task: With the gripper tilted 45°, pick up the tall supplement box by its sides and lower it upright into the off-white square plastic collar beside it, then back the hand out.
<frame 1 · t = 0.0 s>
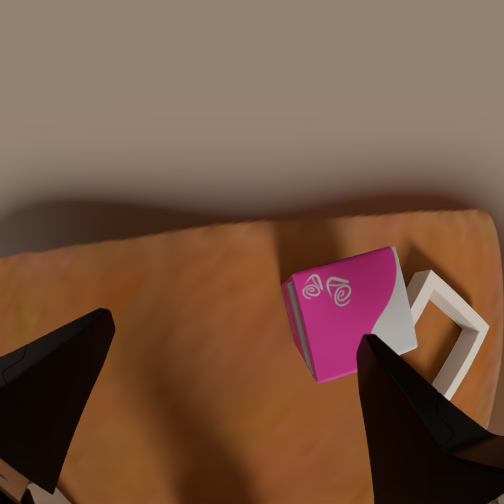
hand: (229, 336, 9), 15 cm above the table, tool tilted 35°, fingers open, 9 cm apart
supplement box: (318, 305, 24), on the table
collar: (423, 345, 22), on the table
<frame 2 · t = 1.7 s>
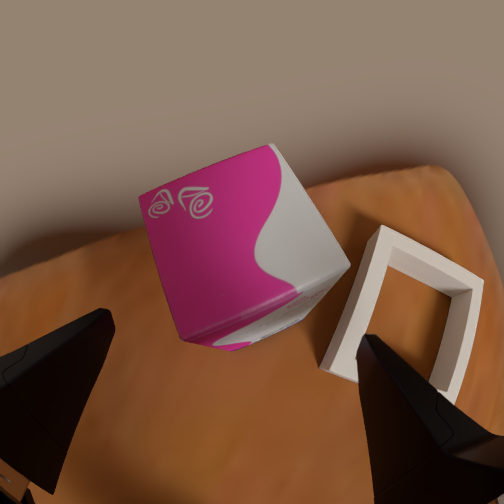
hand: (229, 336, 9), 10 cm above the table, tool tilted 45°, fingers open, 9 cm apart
supplement box: (249, 299, 20), on the table
collar: (404, 326, 18), on the table
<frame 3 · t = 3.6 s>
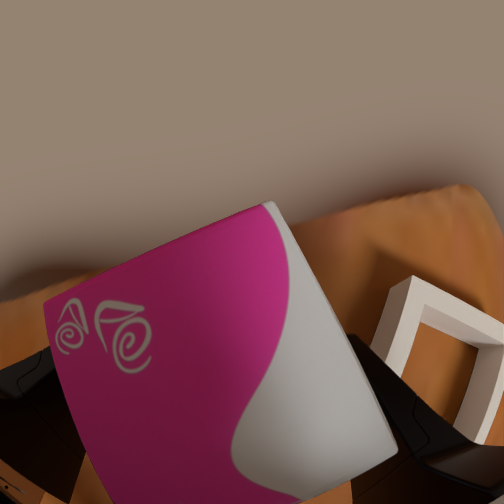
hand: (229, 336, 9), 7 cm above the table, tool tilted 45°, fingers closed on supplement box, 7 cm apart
supplement box: (241, 366, 15), on the table, touching gripper
collar: (425, 389, 13), on the table
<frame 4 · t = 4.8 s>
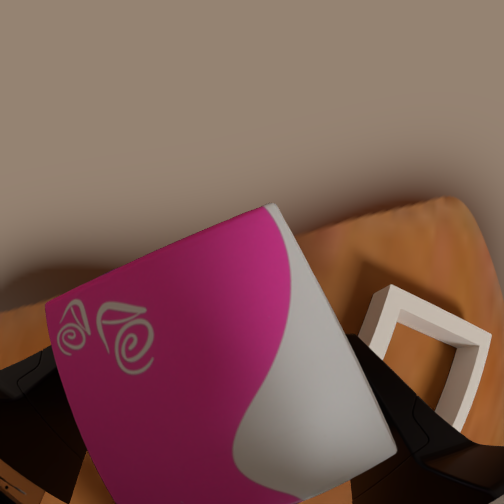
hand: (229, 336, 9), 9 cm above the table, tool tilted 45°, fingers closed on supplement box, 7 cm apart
supplement box: (240, 366, 15), point 3 cm above the table, touching gripper
collar: (405, 383, 16), on the table
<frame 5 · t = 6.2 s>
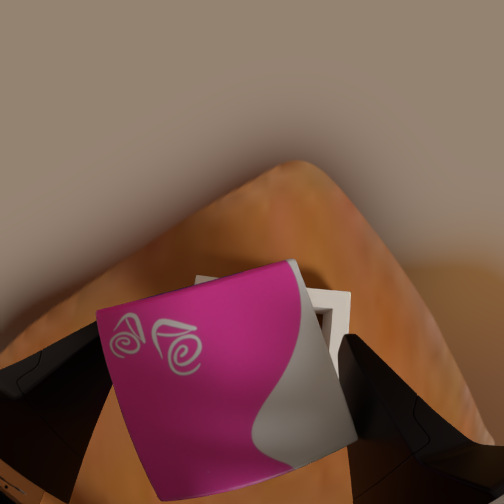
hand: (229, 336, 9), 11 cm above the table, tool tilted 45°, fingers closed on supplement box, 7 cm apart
supplement box: (217, 366, 17), point 3 cm above the table, touching collar, gripper
collar: (263, 362, 19), on the table
when the fingers open (9 cm above the table, at t = 8.2 s): supplement box stays where it is, resting on collar.
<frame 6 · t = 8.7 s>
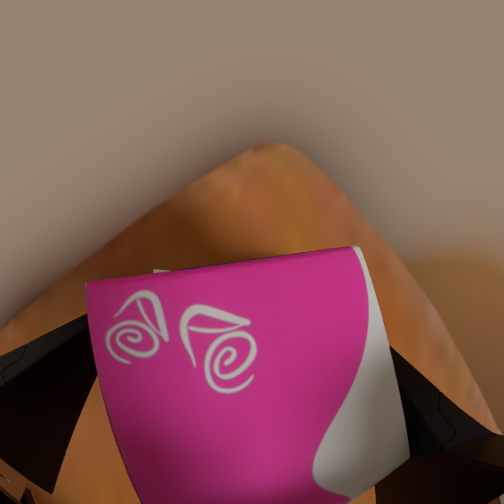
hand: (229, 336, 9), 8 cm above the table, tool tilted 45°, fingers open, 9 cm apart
supplement box: (190, 375, 14), point 2 cm above the table, touching collar, gripper
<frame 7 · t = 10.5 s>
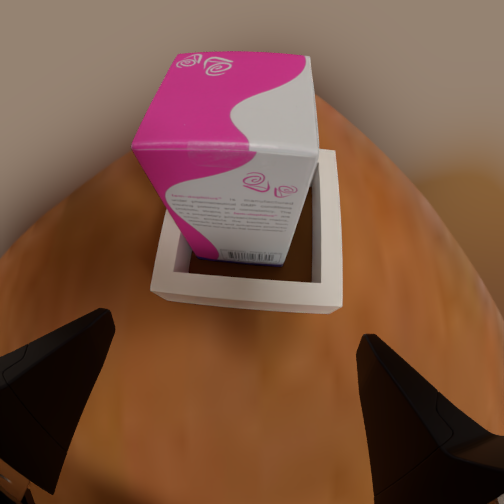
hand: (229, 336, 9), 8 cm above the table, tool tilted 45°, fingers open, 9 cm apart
supplement box: (243, 223, 19), resting in collar
collar: (253, 231, 19), on the table
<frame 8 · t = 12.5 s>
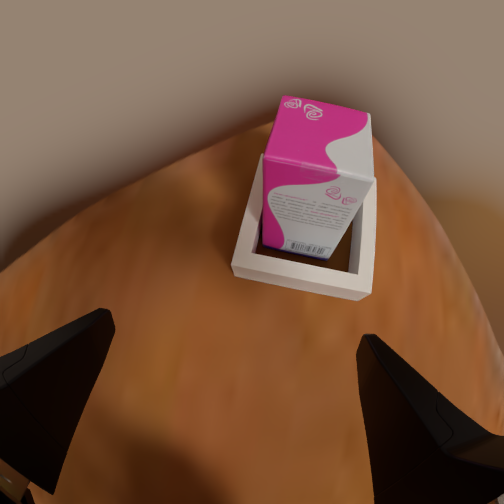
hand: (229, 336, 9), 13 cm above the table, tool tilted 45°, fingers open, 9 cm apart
supplement box: (300, 225, 24), resting in collar
collar: (307, 231, 24), on the table
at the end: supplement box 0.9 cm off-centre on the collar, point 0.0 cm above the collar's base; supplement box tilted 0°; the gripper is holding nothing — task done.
